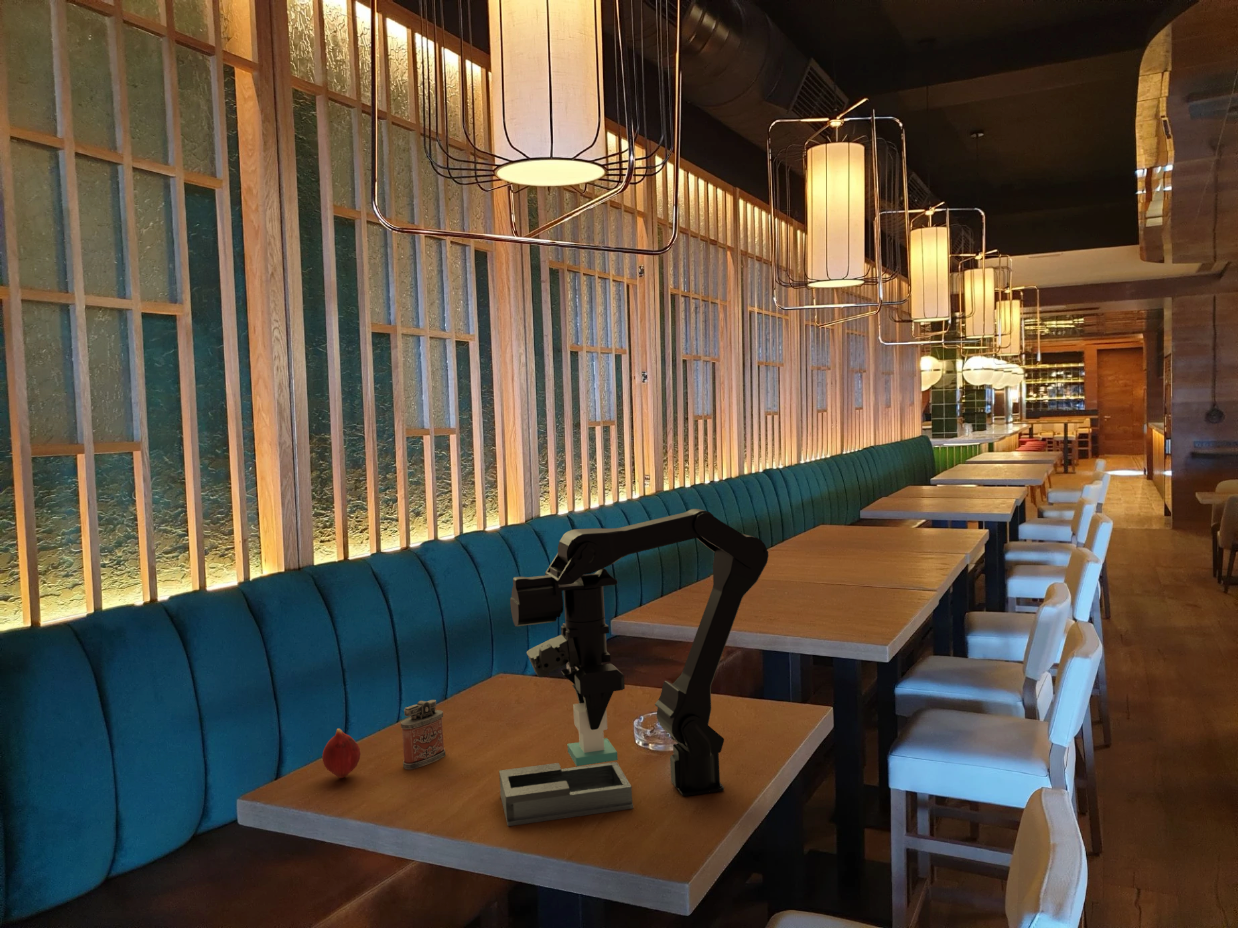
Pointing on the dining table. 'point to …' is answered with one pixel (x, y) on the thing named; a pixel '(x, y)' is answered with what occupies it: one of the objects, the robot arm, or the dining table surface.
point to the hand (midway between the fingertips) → (590, 724)
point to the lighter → (422, 735)
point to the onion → (341, 754)
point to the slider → (590, 740)
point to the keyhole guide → (562, 792)
